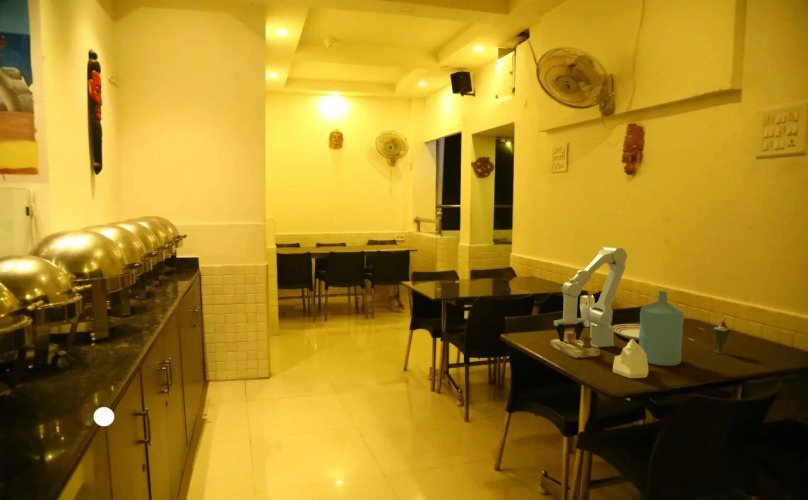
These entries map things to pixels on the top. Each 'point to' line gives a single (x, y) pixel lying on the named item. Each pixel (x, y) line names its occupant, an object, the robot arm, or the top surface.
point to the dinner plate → (628, 331)
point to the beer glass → (586, 307)
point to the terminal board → (577, 348)
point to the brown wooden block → (569, 337)
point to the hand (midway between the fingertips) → (569, 340)
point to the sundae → (721, 336)
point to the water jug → (661, 332)
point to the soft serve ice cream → (631, 361)
